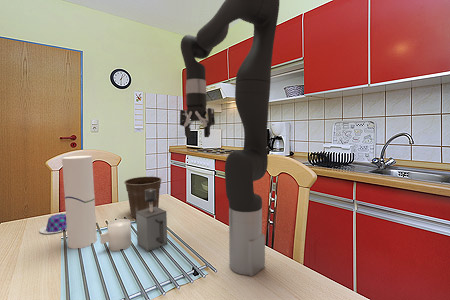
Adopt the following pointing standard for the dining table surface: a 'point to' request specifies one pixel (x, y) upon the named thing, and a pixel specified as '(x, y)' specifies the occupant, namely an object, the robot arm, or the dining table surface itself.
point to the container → (79, 201)
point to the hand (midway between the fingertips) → (197, 137)
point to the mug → (117, 235)
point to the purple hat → (55, 224)
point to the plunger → (150, 197)
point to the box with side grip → (151, 228)
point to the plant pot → (141, 192)
